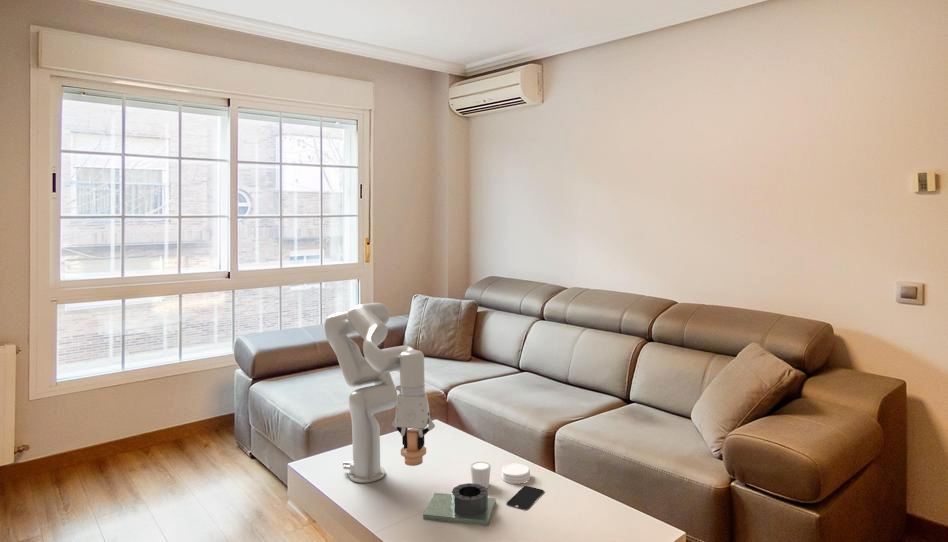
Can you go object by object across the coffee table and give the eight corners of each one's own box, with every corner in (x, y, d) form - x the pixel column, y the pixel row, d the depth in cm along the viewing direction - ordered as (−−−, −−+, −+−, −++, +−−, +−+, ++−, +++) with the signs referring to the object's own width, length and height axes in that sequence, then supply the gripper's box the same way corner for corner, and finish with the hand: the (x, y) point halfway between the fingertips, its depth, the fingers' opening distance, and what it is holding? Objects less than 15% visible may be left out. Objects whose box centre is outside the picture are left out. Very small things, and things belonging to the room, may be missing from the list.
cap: (397, 466, 179) (396, 434, 178) (405, 456, 187) (405, 425, 186) (422, 468, 177) (421, 436, 176) (429, 457, 185) (429, 427, 184)
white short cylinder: (531, 473, 207) (531, 464, 206) (528, 486, 197) (528, 476, 197) (504, 471, 209) (504, 461, 209) (499, 483, 199) (499, 473, 199)
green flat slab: (423, 519, 176) (422, 498, 175) (435, 497, 189) (435, 478, 189) (488, 525, 172) (488, 504, 171) (495, 502, 185) (495, 483, 185)
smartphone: (504, 504, 184) (524, 485, 197) (504, 506, 184) (524, 487, 197) (526, 510, 180) (545, 490, 193) (526, 512, 180) (545, 492, 193)
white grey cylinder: (488, 491, 193) (488, 470, 193) (468, 489, 195) (468, 469, 194) (492, 481, 200) (492, 462, 199) (472, 480, 201) (472, 460, 201)
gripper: (382, 392, 178) (383, 450, 180) (435, 395, 174) (436, 454, 176) (391, 385, 185) (392, 441, 187) (441, 388, 182) (442, 445, 183)
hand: (413, 447), depth 181 cm, fingers closed on cap, 4 cm apart
